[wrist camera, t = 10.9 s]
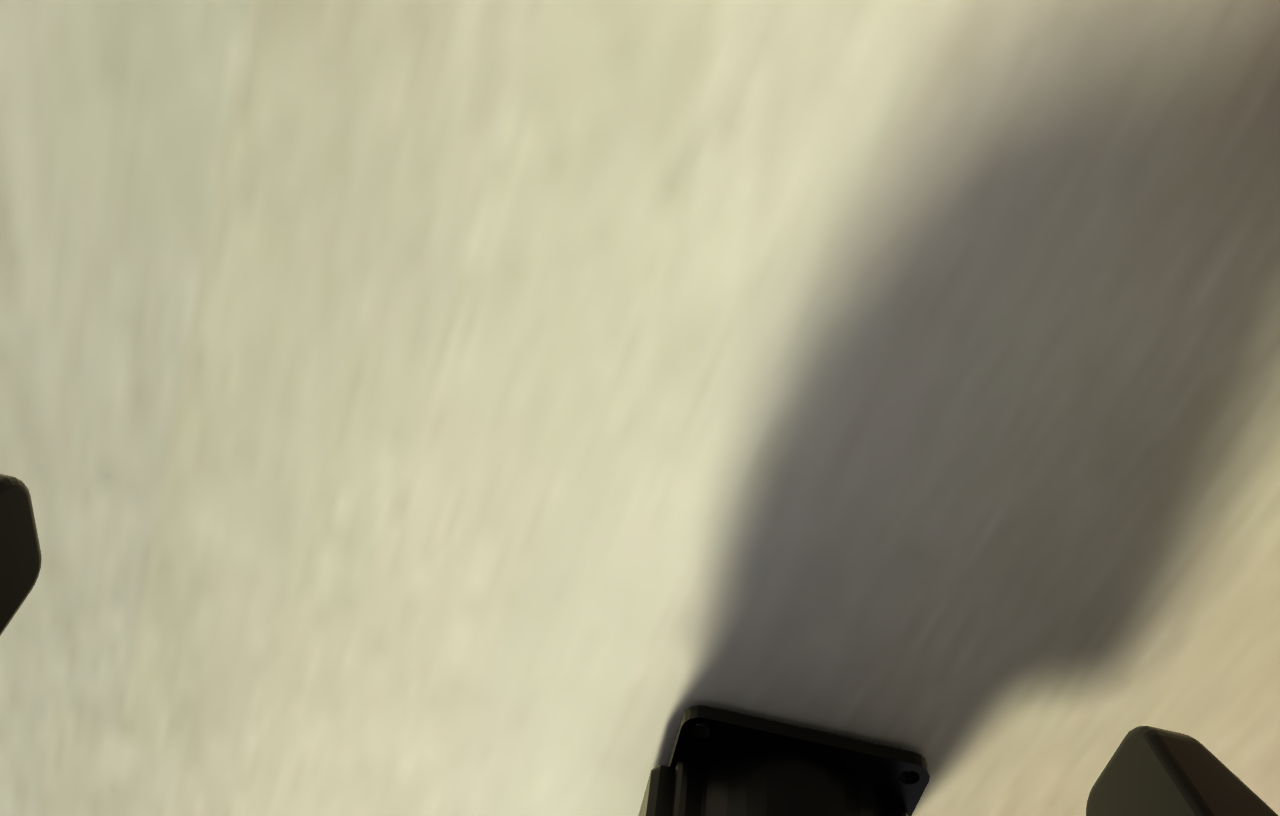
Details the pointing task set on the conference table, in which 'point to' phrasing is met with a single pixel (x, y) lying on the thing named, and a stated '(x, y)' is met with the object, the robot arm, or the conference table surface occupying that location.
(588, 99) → the conference table surface
